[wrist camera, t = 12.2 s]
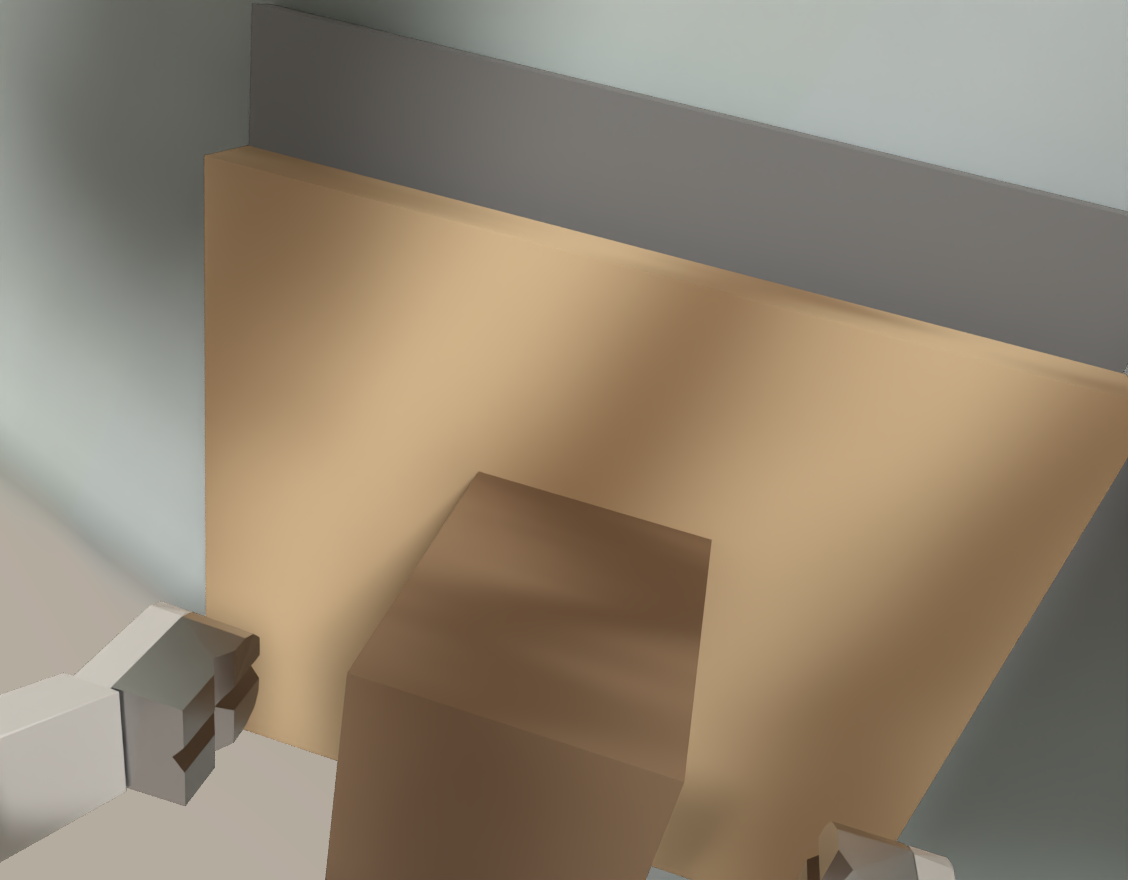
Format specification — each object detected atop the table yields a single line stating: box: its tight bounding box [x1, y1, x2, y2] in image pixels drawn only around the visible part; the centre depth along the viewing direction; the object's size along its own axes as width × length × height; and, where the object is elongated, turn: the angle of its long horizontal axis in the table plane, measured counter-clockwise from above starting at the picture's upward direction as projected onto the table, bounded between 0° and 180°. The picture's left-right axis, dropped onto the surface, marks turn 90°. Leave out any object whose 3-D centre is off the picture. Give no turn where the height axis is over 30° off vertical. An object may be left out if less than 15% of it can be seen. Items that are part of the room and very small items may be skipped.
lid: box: [204, 145, 1128, 880], centre depth 14 cm, size 14×12×7 cm
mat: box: [249, 4, 1128, 373], centre depth 17 cm, size 15×16×1 cm
